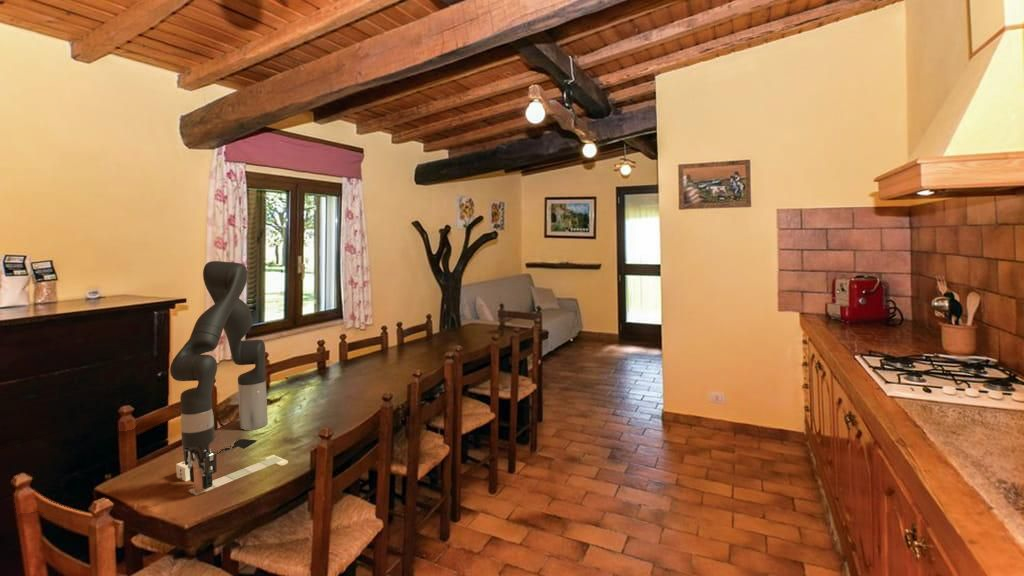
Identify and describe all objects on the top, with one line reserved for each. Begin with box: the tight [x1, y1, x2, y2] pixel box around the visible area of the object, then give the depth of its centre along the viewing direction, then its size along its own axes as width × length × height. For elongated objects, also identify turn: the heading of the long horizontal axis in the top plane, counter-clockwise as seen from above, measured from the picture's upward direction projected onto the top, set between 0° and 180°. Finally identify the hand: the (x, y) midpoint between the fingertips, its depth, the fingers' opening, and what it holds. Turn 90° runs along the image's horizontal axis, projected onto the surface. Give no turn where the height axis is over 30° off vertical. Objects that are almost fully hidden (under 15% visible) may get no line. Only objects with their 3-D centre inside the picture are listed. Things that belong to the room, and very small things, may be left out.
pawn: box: [193, 460, 208, 492], centre depth 128 cm, size 3×3×9 cm
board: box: [187, 454, 289, 496], centre depth 137 cm, size 8×26×1 cm, turn 148°
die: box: [175, 461, 190, 482], centre depth 136 cm, size 5×5×5 cm
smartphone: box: [216, 438, 258, 455], centre depth 156 cm, size 7×1×15 cm
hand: (201, 483), depth 128 cm, fingers open, 6 cm apart
